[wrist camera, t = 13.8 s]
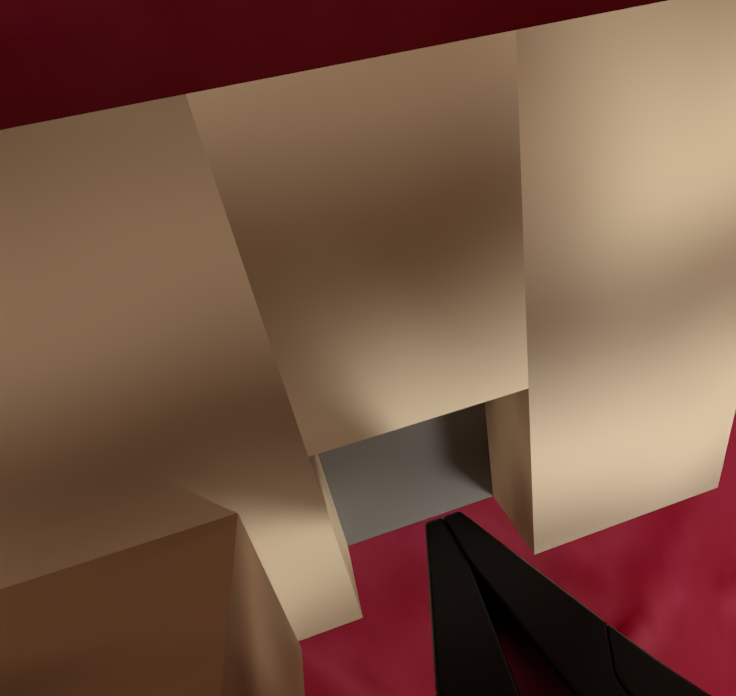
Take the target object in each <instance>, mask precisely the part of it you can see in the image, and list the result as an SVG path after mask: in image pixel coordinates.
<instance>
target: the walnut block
mask: <svg viewBox="0 0 736 696" xmlns="http://www.w3.org/2000/svg"><path fill="white" fill-rule="evenodd" d="M0 696H305V692H304V677H303V662H302V648H301V646H300V644H299V642H298V640H297V638H296V636H295V634H294V631H293V629H292V627H291V625H290V623H289V621H288V619H287V617H286V614H285V612H284V610H283V608H282V606H281V604H280V602H279V600H278V597H277V595H276V593H275V591H274V589H273V587H272V585H271V582H270V580H269V578H268V576H267V574H266V572H265V570H264V568H263V565H262V563H261V561H260V559H259V557H258V555H257V553H256V551H255V548H254V546H253V544H252V542H251V540H250V538H249V536H248V534H247V531H246V529H245V527H244V525H243V523H242V521H241V519H240V516H239V514H238V513H236V514H233V515H230V516H227V517H224V518H221V519H218V520H215V521H212V522H208V523H205V524H202V525H199V526H196V527H193V528H190V529H187V530H184V531H180V532H177V533H174V534H171V535H168V536H165V537H162V538H159V539H156V540H152V541H149V542H146V543H143V544H140V545H137V546H134V547H131V548H128V549H124V550H121V551H118V552H115V553H112V554H109V555H106V556H103V557H100V558H96V559H93V560H90V561H87V562H84V563H81V564H78V565H75V566H71V567H68V568H65V569H62V570H59V571H56V572H53V573H50V574H47V575H43V576H40V577H37V578H34V579H31V580H28V581H25V582H22V583H19V584H15V585H12V586H9V587H6V588H3V589H0Z"/></svg>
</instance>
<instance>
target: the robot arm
mask: <svg viewBox="0 0 736 696" xmlns="http://www.w3.org/2000/svg"><path fill="white" fill-rule="evenodd" d="M425 529H426V545H427V562H428V578H429V594H430V610H431V627H432V643H433V659H434V675H435V690H436V696H711V695H709V694H708V693H706V692H705V691H703V690H702V689H700V688H698V687H697V686H695V685H694V684H692V683H691V682H689V681H688V680H686V679H685V678H683V677H682V676H680V675H679V674H677V673H676V672H674V671H673V670H671V669H670V668H668V667H667V666H665V665H664V664H662V663H661V662H660V661H658V660H657V659H655V658H654V657H653V656H651V655H650V654H648V653H647V652H646V651H644V650H643V649H642V648H640V647H639V646H637V645H636V644H635V643H633V642H632V641H631V640H629V639H628V638H627V637H625V636H624V635H623V634H621V633H620V632H619V631H617V630H616V629H615V628H614V627H612V626H611V625H608V626H607V624H606V622H605V621H604V620H603V619H601V618H600V617H599V616H597V615H596V614H595V613H593V612H592V611H591V610H590V609H588V608H587V607H586V606H584V605H583V604H582V603H580V602H579V601H578V600H576V599H575V598H574V597H572V596H571V595H570V594H568V593H567V592H566V591H564V590H563V589H562V588H560V587H559V586H558V585H557V584H555V583H554V582H553V581H551V580H550V579H549V578H547V577H546V576H545V575H543V574H542V573H541V572H539V571H538V570H537V569H535V568H534V567H533V566H531V565H530V564H529V563H527V562H526V561H525V560H523V559H522V558H521V557H520V556H518V555H517V554H516V553H514V552H513V551H512V550H510V549H509V548H508V547H506V546H505V545H504V544H502V543H501V542H500V541H498V540H497V539H496V538H494V537H493V536H492V535H490V534H489V533H488V532H487V531H485V530H484V529H483V528H481V527H480V526H479V525H477V524H476V523H475V522H473V521H472V520H471V519H469V518H468V517H467V516H465V515H464V514H463V513H461V512H455V513H452V514H449V515H446V516H444V518H443V519H442V518H438V519H435V520H432V521H429V522H427V523H426V525H425Z"/></svg>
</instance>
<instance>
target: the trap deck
mask: <svg viewBox="0 0 736 696" xmlns="http://www.w3.org/2000/svg"><path fill="white" fill-rule="evenodd" d="M735 410H736V0H668V1H663V2H657V3H652V4H647V5H642V6H637V7H632V8H626V9H621V10H616V11H611V12H606V13H601V14H596V15H590V16H585V17H580V18H575V19H570V20H565V21H559V22H554V23H549V24H544V25H539V26H534V27H529V28H523V29H518V30H513V31H508V32H503V33H498V34H493V35H487V36H482V37H477V38H472V39H467V40H462V41H456V42H451V43H446V44H441V45H436V46H431V47H426V48H420V49H415V50H410V51H405V52H400V53H395V54H389V55H384V56H379V57H374V58H369V59H364V60H359V61H353V62H348V63H343V64H338V65H333V66H328V67H322V68H317V69H312V70H307V71H302V72H297V73H292V74H286V75H281V76H276V77H271V78H266V79H261V80H256V81H250V82H245V83H240V84H235V85H230V86H225V87H219V88H214V89H209V90H204V91H199V92H194V93H189V94H183V95H178V96H173V97H168V98H163V99H158V100H152V101H147V102H142V103H137V104H132V105H127V106H122V107H116V108H111V109H106V110H101V111H96V112H91V113H85V114H80V115H75V116H70V117H65V118H60V119H55V120H49V121H44V122H39V123H34V124H29V125H24V126H18V127H13V128H8V129H3V130H0V589H3V588H6V587H9V586H12V585H15V584H19V583H22V582H25V581H28V580H31V579H34V578H37V577H40V576H43V575H47V574H50V573H53V572H56V571H59V570H62V569H65V568H68V567H71V566H75V565H78V564H81V563H84V562H87V561H90V560H93V559H96V558H100V557H103V556H106V555H109V554H112V553H115V552H118V551H121V550H124V549H128V548H131V547H134V546H137V545H140V544H143V543H146V542H149V541H152V540H156V539H159V538H162V537H165V536H168V535H171V534H174V533H177V532H180V531H184V530H187V529H190V528H193V527H196V526H199V525H202V524H205V523H208V522H212V521H215V520H218V519H221V518H224V517H227V516H230V515H233V514H236V513H238V514H239V516H240V519H241V521H242V523H243V525H244V527H245V529H246V531H247V534H248V536H249V538H250V540H251V542H252V544H253V546H254V548H255V551H256V553H257V555H258V557H259V559H260V561H261V563H262V565H263V568H264V570H265V572H266V574H267V576H268V578H269V580H270V582H271V585H272V587H273V589H274V591H275V593H276V595H277V597H278V600H279V602H280V604H281V606H282V608H283V610H284V612H285V614H286V617H287V619H288V621H289V623H290V625H291V627H292V629H293V631H294V634H295V636H296V638H297V640H298V641H300V640H303V639H306V638H308V637H311V636H314V635H316V634H319V633H322V632H325V631H327V630H330V629H333V628H336V627H338V626H341V625H344V624H346V623H349V622H352V621H355V620H357V619H360V618H363V616H362V611H361V607H360V602H359V597H358V593H357V588H356V583H355V578H354V574H353V569H352V564H351V560H350V555H349V550H348V546H349V545H352V544H354V543H357V542H360V541H363V540H366V539H369V538H372V537H375V536H378V535H381V534H384V533H387V532H389V531H392V530H395V529H398V528H401V527H404V526H407V525H410V524H413V523H416V522H419V521H422V520H424V519H427V518H430V517H433V516H436V515H439V514H442V513H445V512H448V511H451V510H454V509H457V508H459V507H462V506H465V505H468V504H471V503H474V502H477V501H480V500H483V499H486V498H489V497H492V496H494V498H495V499H496V501H497V502H498V503H499V505H500V506H501V508H502V509H503V511H504V512H505V513H506V515H507V516H508V518H509V519H510V521H511V522H512V523H513V525H514V526H515V528H516V529H517V530H518V532H519V533H520V535H521V536H522V538H523V539H524V540H525V542H526V543H527V545H528V546H529V548H530V549H531V550H532V552H533V553H534V555H535V554H537V553H540V552H543V551H545V550H548V549H551V548H554V547H556V546H559V545H562V544H564V543H567V542H570V541H573V540H575V539H578V538H581V537H584V536H586V535H589V534H592V533H594V532H597V531H600V530H603V529H605V528H608V527H611V526H614V525H616V524H619V523H622V522H624V521H627V520H630V519H633V518H635V517H638V516H641V515H644V514H646V513H649V512H652V511H654V510H657V509H660V508H663V507H665V506H668V505H671V504H674V503H676V502H679V501H682V500H684V499H687V498H690V497H693V496H695V495H698V494H701V493H704V492H706V491H709V490H712V489H714V488H717V487H718V484H719V480H720V475H721V471H722V467H723V462H724V458H725V453H726V449H727V445H728V440H729V436H730V432H731V427H732V423H733V418H734V414H735Z"/></svg>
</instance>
